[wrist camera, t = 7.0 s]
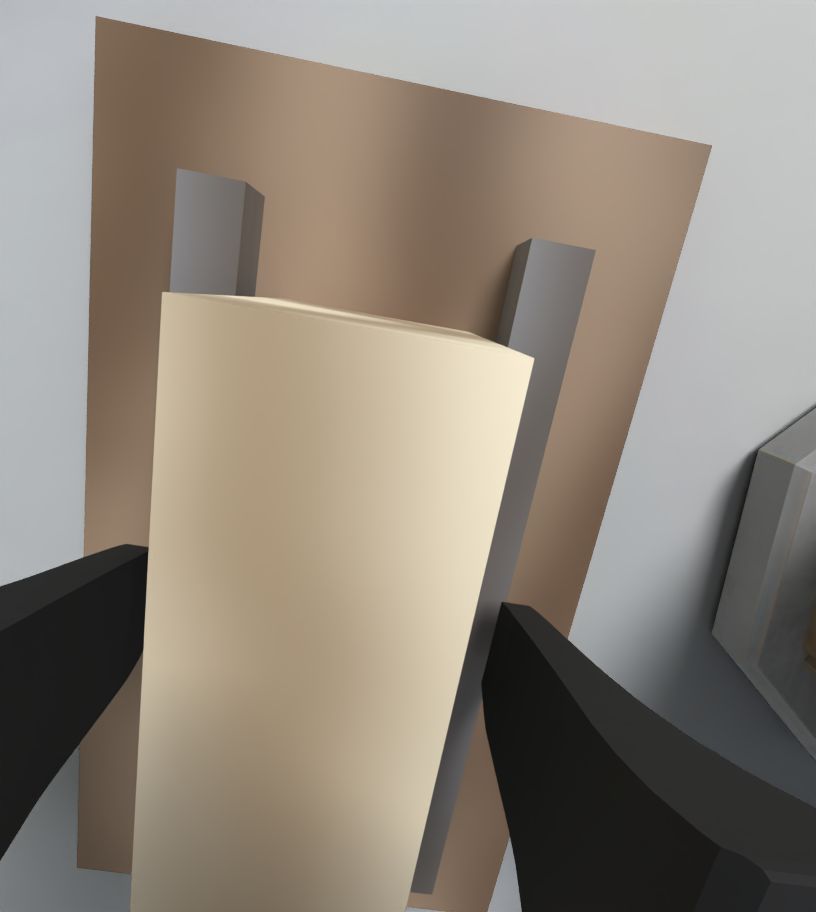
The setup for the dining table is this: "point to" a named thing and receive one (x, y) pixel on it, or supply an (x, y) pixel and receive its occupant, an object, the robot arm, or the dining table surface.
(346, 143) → the walnut ledge
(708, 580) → the dining table surface
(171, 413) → the pale wooden bar
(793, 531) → the tankard
